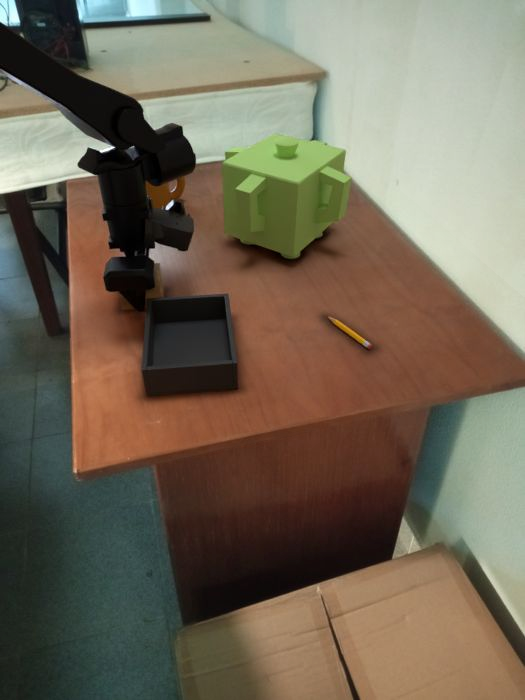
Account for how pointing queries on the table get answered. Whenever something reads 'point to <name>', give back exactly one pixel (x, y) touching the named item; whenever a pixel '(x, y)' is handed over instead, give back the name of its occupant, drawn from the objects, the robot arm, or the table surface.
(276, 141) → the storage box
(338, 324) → the pencil
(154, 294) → the package
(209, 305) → the bin
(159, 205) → the mug
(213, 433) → the table surface
